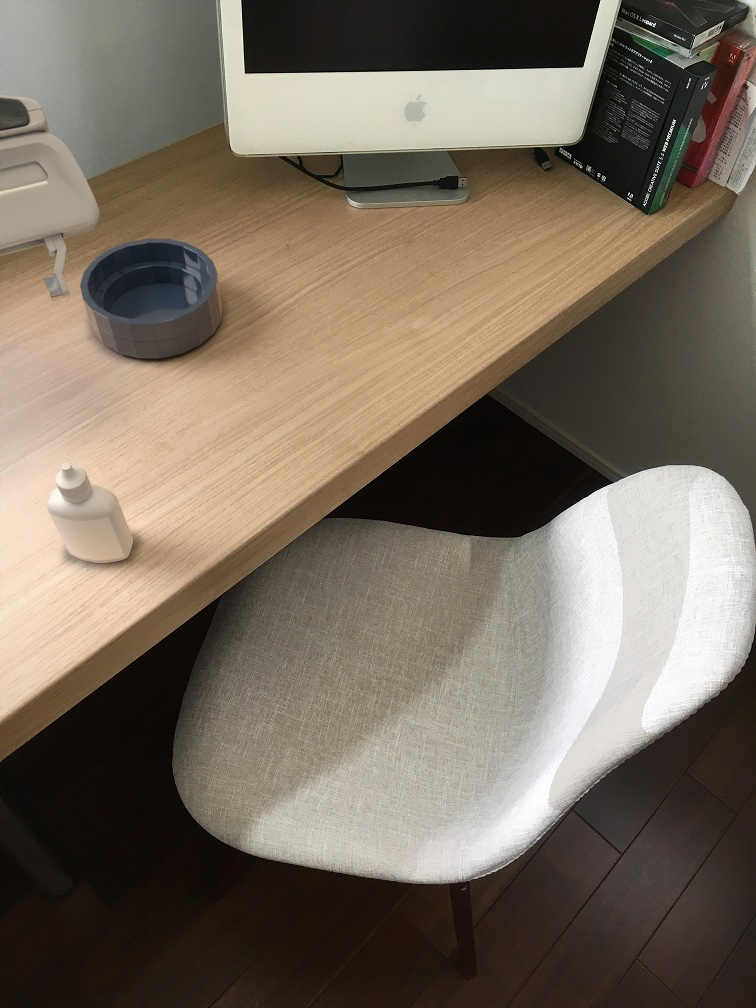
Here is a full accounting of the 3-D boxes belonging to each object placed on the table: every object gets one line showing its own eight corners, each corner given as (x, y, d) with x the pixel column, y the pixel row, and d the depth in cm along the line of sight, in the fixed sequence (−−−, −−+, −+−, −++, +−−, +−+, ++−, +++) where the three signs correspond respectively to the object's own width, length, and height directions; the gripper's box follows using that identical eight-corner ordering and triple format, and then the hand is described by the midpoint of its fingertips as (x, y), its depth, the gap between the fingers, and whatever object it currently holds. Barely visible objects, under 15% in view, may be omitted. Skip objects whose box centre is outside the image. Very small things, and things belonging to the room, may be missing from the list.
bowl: (104, 375, 85) (91, 336, 80) (84, 291, 93) (71, 251, 88) (236, 346, 88) (231, 307, 84) (206, 267, 96) (200, 228, 92)
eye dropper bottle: (108, 579, 70) (71, 500, 60) (62, 550, 72) (19, 468, 62) (141, 545, 72) (111, 464, 62) (96, 517, 74) (60, 433, 64)
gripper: (-238, 157, 54) (-147, 351, 57) (58, 96, 60) (127, 273, 63) (-209, 183, 60) (-127, 357, 63) (59, 124, 66) (122, 286, 69)
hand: (3, 315), depth 63 cm, fingers open, 8 cm apart
